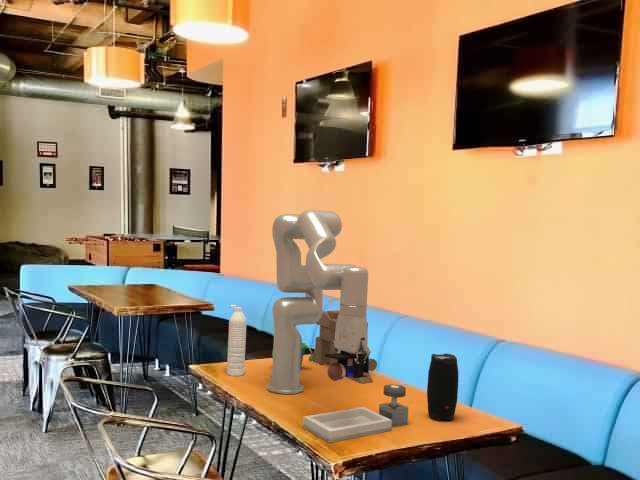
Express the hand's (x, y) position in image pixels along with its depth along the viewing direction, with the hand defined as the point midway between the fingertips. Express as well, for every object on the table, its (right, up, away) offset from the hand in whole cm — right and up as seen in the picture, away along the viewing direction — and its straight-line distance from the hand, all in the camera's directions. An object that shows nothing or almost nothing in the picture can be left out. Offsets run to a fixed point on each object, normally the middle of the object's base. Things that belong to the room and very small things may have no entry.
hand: (349, 373), depth 168 cm
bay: (-1, -16, 0) cm, 16 cm away
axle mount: (+13, -16, +8) cm, 22 cm away
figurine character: (0, -2, 0) cm, 2 cm away
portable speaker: (+28, -17, +14) cm, 36 cm away
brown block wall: (-1, -14, +68) cm, 69 cm away
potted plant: (-20, -13, +65) cm, 69 cm away
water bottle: (-40, -12, +55) cm, 69 cm away
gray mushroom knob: (+13, -13, +8) cm, 20 cm away
